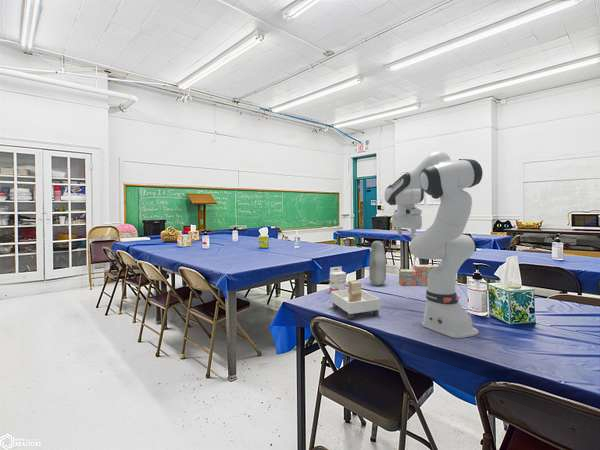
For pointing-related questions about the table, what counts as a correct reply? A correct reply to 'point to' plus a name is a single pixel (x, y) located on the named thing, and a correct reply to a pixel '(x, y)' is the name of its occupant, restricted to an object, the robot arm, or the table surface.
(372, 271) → the grey bottle
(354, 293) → the maple part block
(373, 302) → the tray
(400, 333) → the table surface
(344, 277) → the ink cartridge box
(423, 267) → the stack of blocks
